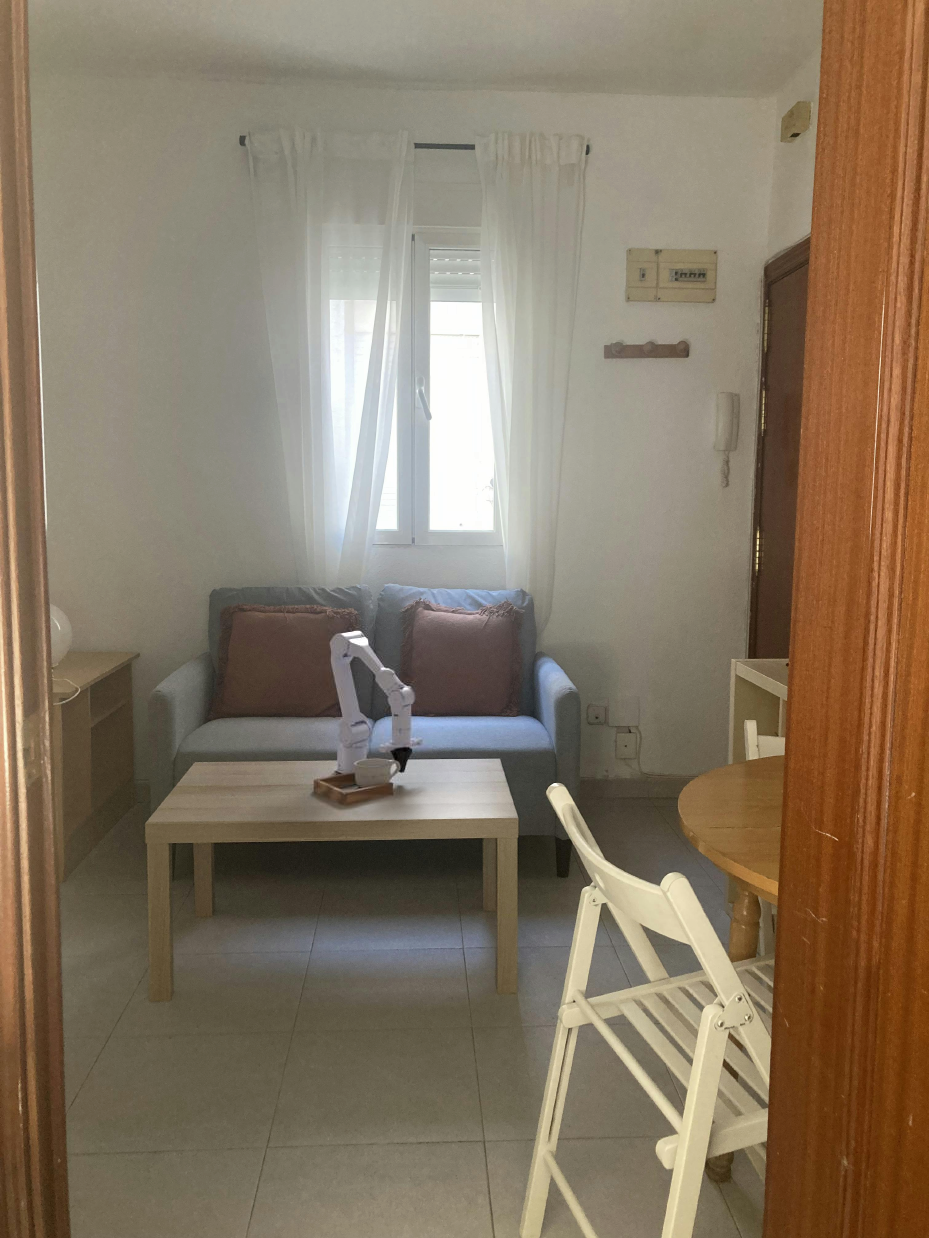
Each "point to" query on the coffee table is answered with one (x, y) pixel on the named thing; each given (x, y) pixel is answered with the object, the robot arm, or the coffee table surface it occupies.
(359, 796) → the cradle
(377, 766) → the teacup
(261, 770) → the coffee table surface
